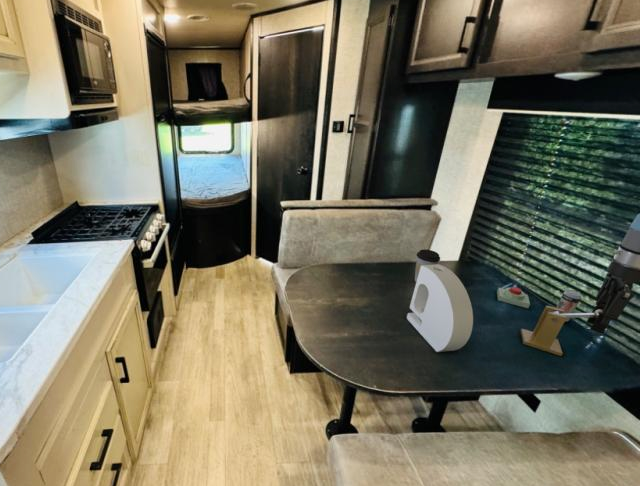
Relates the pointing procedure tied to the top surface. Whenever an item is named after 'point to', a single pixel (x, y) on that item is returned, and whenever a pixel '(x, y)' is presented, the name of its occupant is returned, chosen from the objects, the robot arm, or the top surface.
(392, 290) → the top surface
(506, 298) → the button block
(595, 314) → the tap lever
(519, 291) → the button
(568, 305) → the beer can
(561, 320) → the bracket
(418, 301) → the white curved block
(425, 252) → the coffee cup
